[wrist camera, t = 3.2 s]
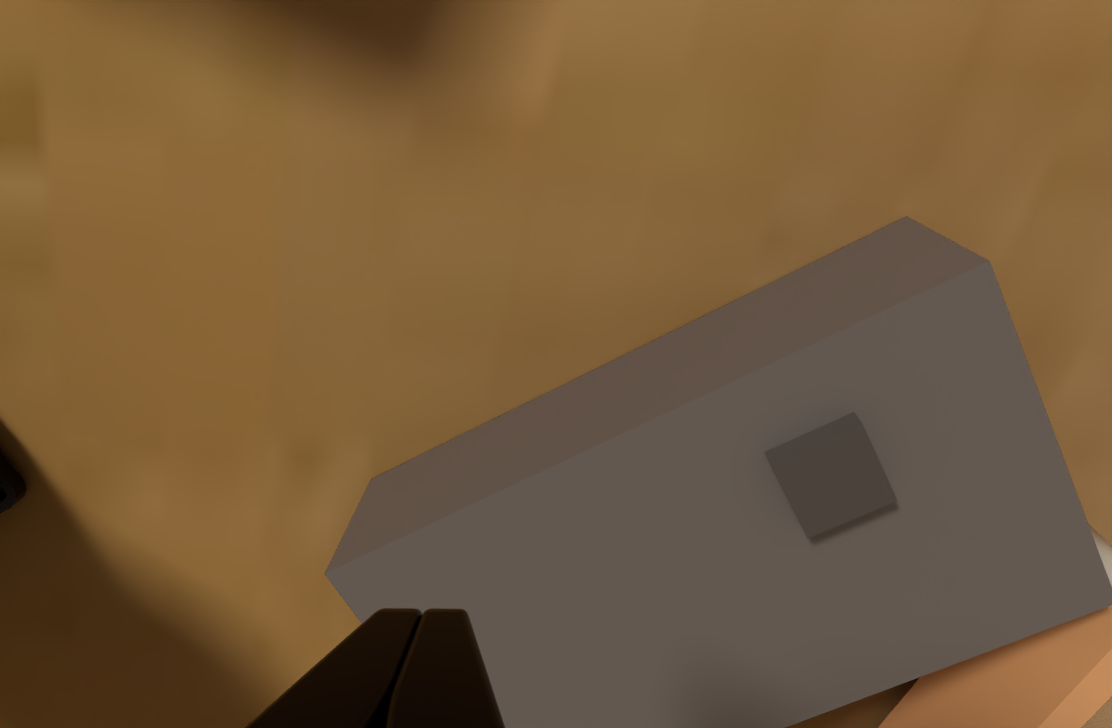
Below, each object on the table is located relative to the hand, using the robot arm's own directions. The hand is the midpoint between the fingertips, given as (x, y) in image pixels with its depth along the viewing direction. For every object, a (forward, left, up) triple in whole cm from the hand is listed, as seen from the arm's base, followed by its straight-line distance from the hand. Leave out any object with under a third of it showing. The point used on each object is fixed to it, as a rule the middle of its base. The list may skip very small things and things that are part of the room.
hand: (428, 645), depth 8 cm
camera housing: (+1, -6, -12) cm, 14 cm away
